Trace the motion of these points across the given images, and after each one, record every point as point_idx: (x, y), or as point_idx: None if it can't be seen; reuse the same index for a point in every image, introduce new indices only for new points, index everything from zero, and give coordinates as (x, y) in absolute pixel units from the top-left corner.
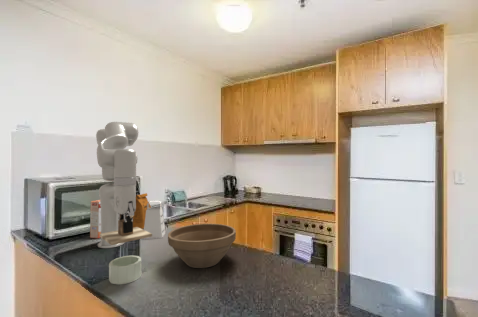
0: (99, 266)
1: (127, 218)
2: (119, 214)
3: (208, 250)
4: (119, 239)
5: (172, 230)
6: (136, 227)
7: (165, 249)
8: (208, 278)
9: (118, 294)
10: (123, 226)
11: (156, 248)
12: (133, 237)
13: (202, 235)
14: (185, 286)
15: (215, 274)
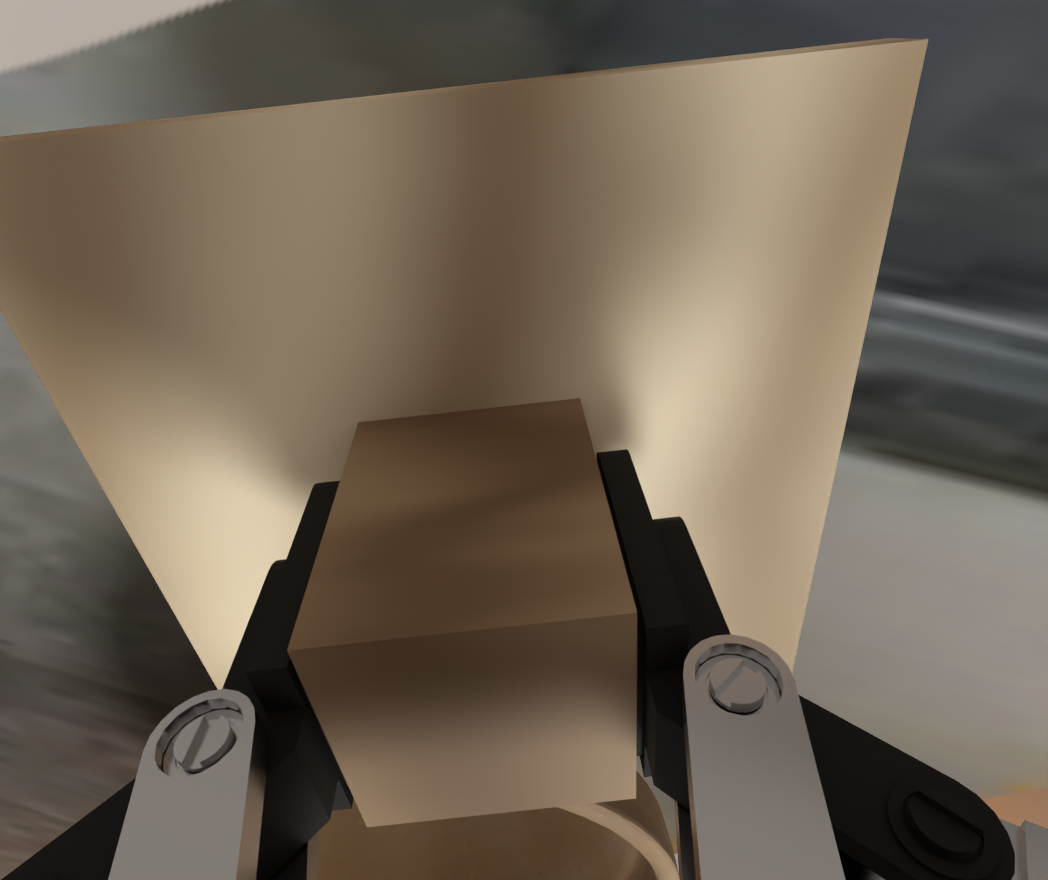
0: (942, 85)
1: (73, 863)
2: (733, 822)
3: None
4: (100, 340)
5: (619, 828)
6: None
7: (807, 619)
8: (152, 653)
9: (154, 118)
10: (291, 580)
11: (888, 582)
12: (139, 546)
13: (577, 868)
14: (94, 535)
15: (189, 692)
